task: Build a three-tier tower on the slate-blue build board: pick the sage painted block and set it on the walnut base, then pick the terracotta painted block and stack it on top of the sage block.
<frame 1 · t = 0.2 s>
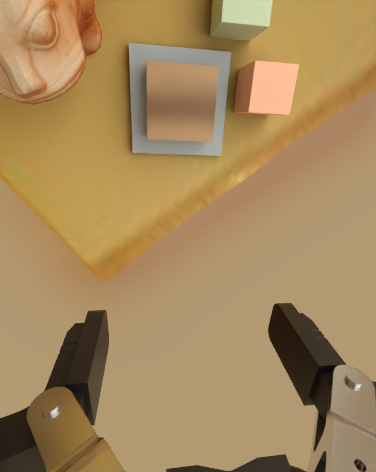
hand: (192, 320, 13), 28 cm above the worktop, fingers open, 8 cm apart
build board: (178, 105, 34), on the worktop
walnut base: (179, 104, 33), point 1 cm above the worktop, touching build board
terracotta block: (254, 92, 35), on the worktop
sage block: (232, 13, 31), on the worktop
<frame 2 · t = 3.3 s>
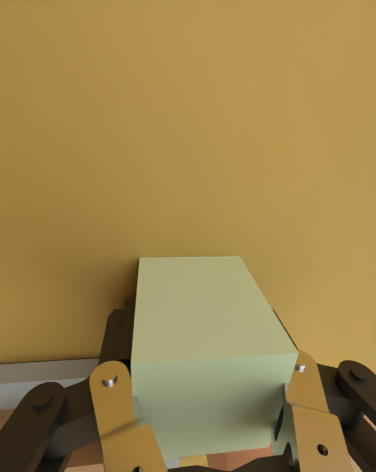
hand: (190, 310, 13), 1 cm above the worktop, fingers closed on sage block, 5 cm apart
build board: (89, 423, 17), on the worktop
walnut base: (85, 444, 16), point 1 cm above the worktop, touching build board
terracotta block: (239, 390, 18), on the worktop
sage block: (188, 297, 14), on the worktop, touching gripper
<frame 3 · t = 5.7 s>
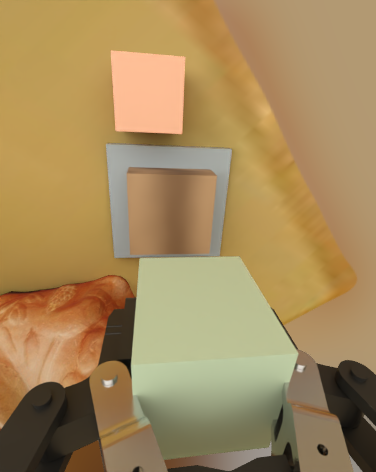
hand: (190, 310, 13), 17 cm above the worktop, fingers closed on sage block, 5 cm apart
ceramic vessel: (73, 320, 34), on the worktop
build board: (168, 203, 29), on the worktop
walnut base: (169, 206, 28), point 1 cm above the worktop, touching build board
terracotta block: (149, 99, 24), on the worktop
sage block: (188, 297, 14), point 16 cm above the worktop, touching gripper
when the fingers open (6 cm above the worktop, at t = 8.1 s): sage block drops 1 cm, resting on walnut base.
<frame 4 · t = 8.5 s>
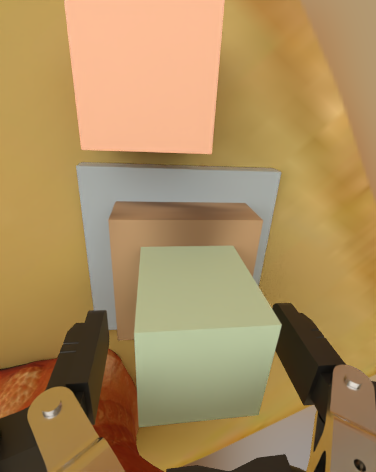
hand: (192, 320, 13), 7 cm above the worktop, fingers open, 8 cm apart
ceramic vessel: (43, 403, 24), on the worktop
build board: (178, 250, 19), on the worktop
walnut base: (180, 258, 18), point 1 cm above the worktop, touching build board, sage block
terracotta block: (148, 90, 15), on the worktop
sage block: (186, 284, 15), point 4 cm above the worktop, touching walnut base
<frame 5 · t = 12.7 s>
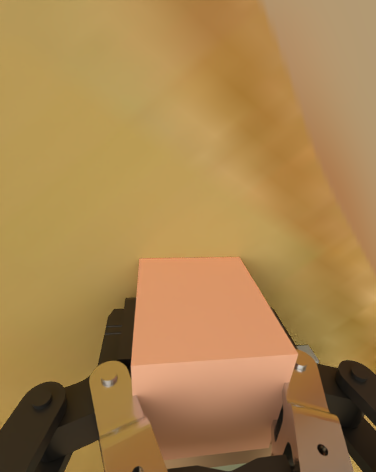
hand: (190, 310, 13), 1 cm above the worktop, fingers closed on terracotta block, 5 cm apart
walnut base: (211, 431, 17), point 1 cm above the worktop, touching build board, sage block
terracotta block: (188, 298, 14), on the worktop, touching gripper
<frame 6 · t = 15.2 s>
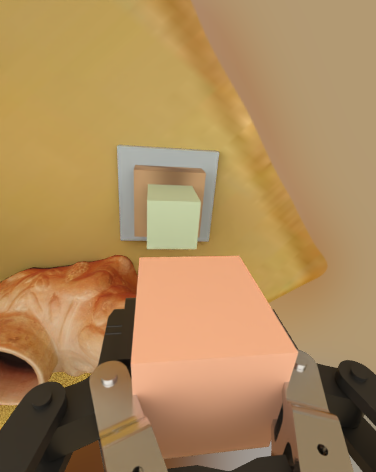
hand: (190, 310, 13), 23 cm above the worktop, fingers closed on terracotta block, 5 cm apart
ceramic vessel: (84, 294, 40), on the worktop
build board: (167, 195, 35), on the worktop
walnut base: (167, 198, 34), point 1 cm above the worktop, touching build board, sage block
terracotta block: (188, 297, 14), point 22 cm above the worktop, touching gripper
sage block: (169, 206, 31), point 4 cm above the worktop, touching walnut base
when the fingers open (12 cm above the worktop, at t = 17.8 s): terracotta block drops 1 cm, resting on sage block.
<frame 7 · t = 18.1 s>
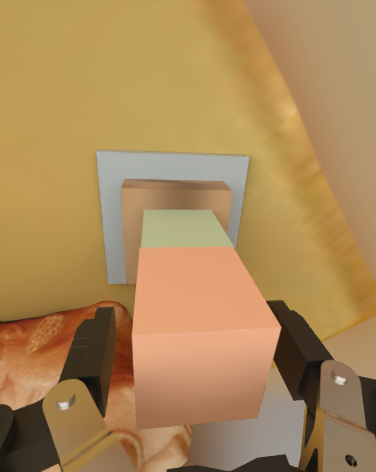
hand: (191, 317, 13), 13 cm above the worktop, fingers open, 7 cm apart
ceramic vessel: (64, 350, 30), on the worktop
build board: (172, 220, 24), on the worktop
walnut base: (173, 225, 23), point 1 cm above the worktop, touching build board, sage block
terracotta block: (185, 285, 15), point 10 cm above the worktop, touching sage block
sage block: (177, 240, 21), point 4 cm above the worktop, touching terracotta block, walnut base
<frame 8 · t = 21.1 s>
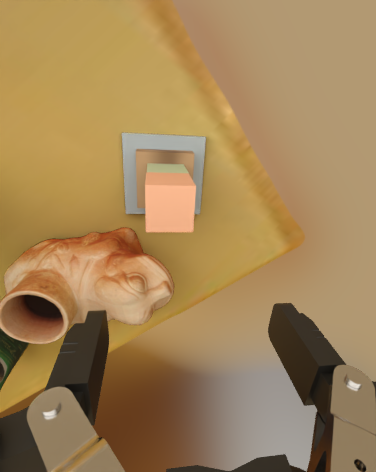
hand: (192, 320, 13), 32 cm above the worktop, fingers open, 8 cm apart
ceramic vessel: (96, 263, 47), on the worktop
build board: (163, 175, 41), on the worktop
walnut base: (164, 177, 40), point 1 cm above the worktop, touching build board, sage block
coffee jar: (7, 325, 50), on the worktop
terracotta block: (167, 193, 32), point 10 cm above the worktop, touching sage block
sage block: (165, 181, 38), point 4 cm above the worktop, touching terracotta block, walnut base
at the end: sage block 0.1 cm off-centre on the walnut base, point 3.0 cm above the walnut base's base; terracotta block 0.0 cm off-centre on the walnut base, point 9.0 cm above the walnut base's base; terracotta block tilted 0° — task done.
